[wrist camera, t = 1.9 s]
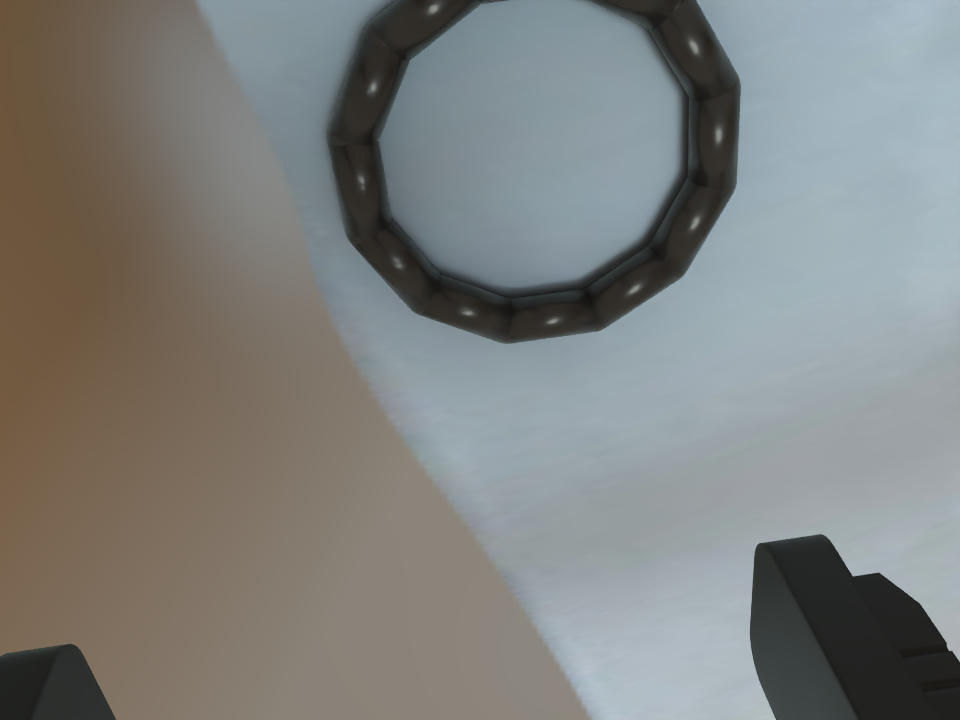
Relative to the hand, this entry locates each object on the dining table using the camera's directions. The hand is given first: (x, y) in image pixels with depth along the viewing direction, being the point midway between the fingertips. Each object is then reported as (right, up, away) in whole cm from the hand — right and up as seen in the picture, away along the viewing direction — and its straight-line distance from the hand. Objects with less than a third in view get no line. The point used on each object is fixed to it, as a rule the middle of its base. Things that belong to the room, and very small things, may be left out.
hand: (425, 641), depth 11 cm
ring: (+2, +8, +11) cm, 14 cm away
